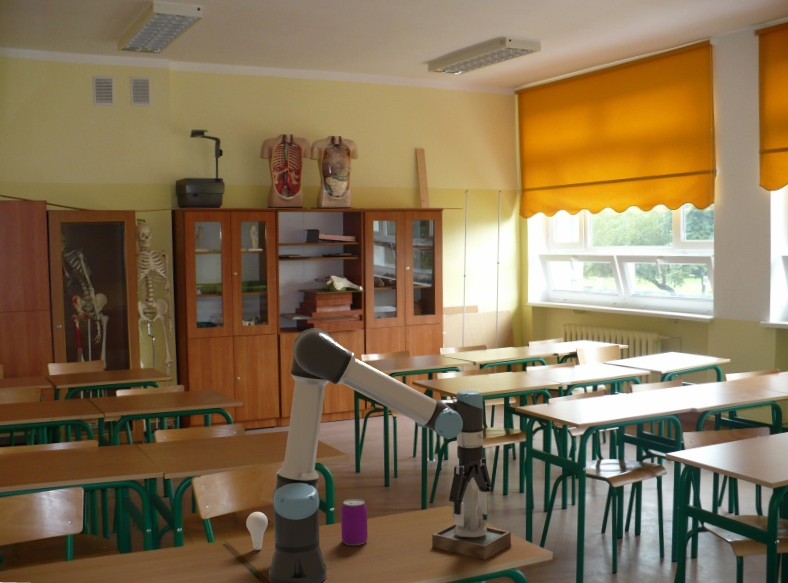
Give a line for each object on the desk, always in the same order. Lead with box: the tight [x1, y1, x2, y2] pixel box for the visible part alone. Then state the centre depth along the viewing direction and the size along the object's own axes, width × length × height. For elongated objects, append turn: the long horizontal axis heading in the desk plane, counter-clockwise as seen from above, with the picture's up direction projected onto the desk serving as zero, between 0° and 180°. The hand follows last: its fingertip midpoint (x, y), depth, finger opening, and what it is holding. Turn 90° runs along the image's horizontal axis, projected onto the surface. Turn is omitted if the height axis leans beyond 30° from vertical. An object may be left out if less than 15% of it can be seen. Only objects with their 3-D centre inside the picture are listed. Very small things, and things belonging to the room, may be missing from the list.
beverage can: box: [340, 498, 369, 547], centre depth 233 cm, size 8×8×12 cm
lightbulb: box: [245, 511, 269, 551], centre depth 228 cm, size 6×6×11 cm
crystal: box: [452, 480, 487, 537], centre depth 228 cm, size 10×13×15 cm
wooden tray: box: [431, 522, 512, 561], centre depth 229 cm, size 18×15×4 cm
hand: (471, 519), depth 228 cm, fingers closed on crystal, 12 cm apart
